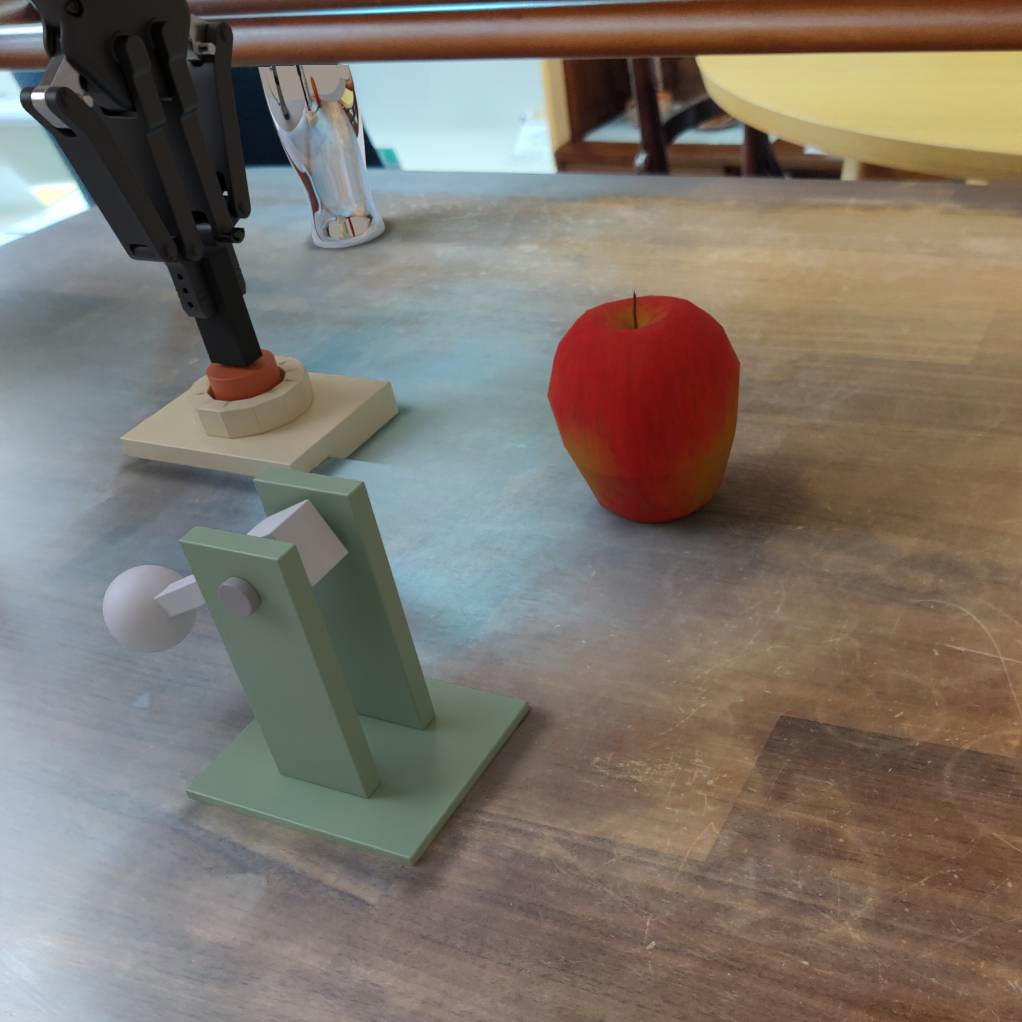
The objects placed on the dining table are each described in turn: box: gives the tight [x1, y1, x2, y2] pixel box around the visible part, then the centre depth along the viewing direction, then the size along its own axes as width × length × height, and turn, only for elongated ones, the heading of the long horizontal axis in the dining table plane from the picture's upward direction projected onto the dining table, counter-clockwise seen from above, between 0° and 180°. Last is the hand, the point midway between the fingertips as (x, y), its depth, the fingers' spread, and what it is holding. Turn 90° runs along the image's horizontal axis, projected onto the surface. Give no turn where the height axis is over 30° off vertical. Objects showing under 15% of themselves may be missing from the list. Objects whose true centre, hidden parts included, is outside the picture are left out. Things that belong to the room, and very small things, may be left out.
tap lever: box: [102, 499, 348, 654], centre depth 46 cm, size 13×4×4 cm, turn 65°
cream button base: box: [119, 354, 399, 478], centre depth 72 cm, size 13×10×4 cm
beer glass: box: [257, 64, 386, 249], centre depth 96 cm, size 7×7×15 cm
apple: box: [546, 290, 741, 523], centre depth 59 cm, size 9×9×12 cm
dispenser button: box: [205, 348, 282, 402], centre depth 71 cm, size 4×4×2 cm
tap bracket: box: [178, 467, 530, 867], centre depth 46 cm, size 11×9×13 cm
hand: (236, 358), depth 70 cm, fingers closed
